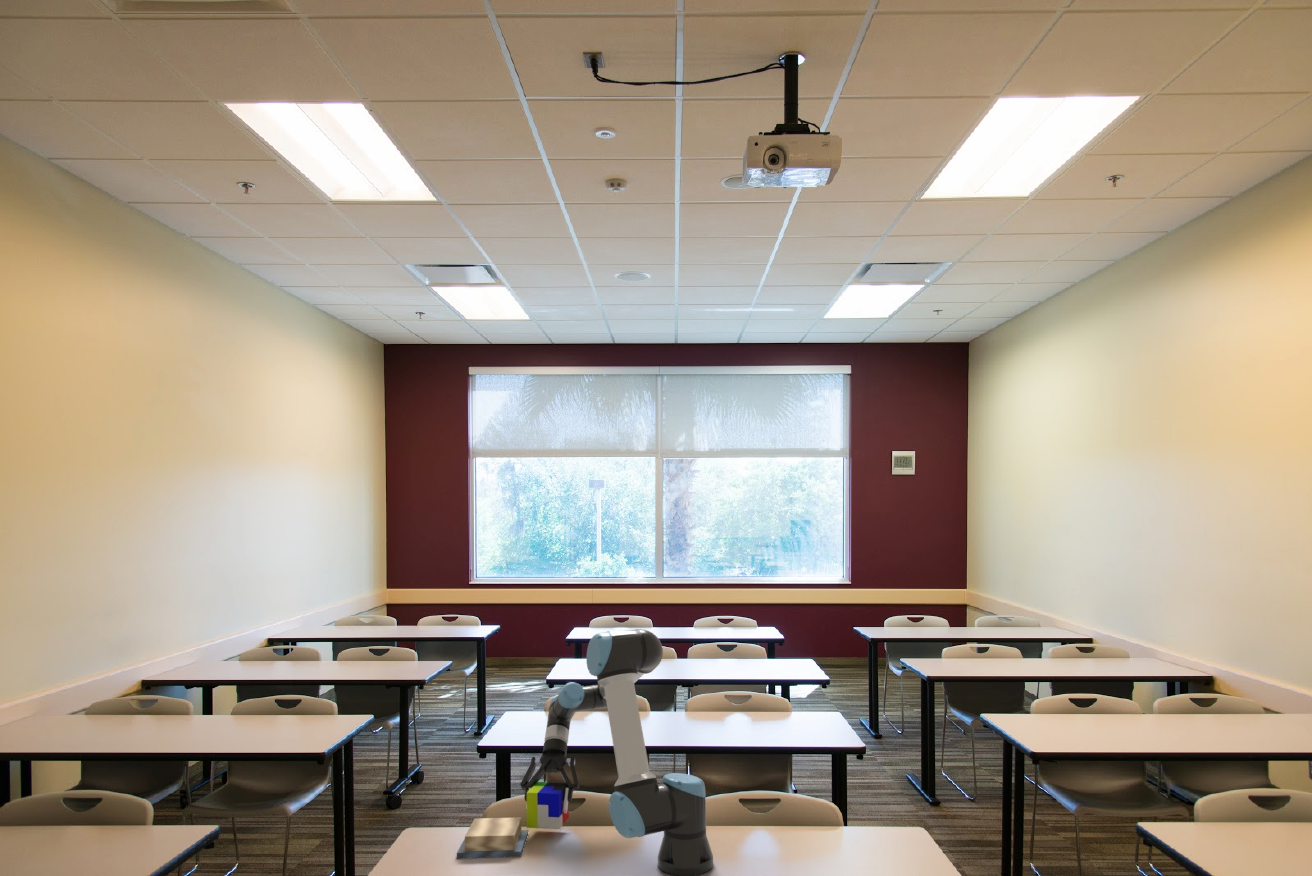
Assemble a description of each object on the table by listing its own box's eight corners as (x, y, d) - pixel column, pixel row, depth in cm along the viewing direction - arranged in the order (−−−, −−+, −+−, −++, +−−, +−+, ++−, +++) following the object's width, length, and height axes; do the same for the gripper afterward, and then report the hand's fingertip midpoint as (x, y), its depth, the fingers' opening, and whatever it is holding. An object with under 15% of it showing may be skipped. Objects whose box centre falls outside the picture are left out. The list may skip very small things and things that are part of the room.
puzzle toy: (559, 829, 236) (558, 793, 238) (526, 827, 238) (526, 792, 239) (568, 817, 246) (568, 783, 247) (537, 815, 248) (537, 782, 249)
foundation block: (528, 835, 242) (528, 816, 242) (520, 857, 226) (520, 836, 226) (468, 836, 241) (468, 817, 242) (456, 858, 225) (456, 838, 226)
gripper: (592, 749, 259) (586, 817, 241) (522, 750, 260) (510, 817, 243) (590, 736, 254) (583, 805, 237) (518, 737, 255) (506, 805, 238)
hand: (546, 811), depth 240 cm, fingers closed on puzzle toy, 11 cm apart
